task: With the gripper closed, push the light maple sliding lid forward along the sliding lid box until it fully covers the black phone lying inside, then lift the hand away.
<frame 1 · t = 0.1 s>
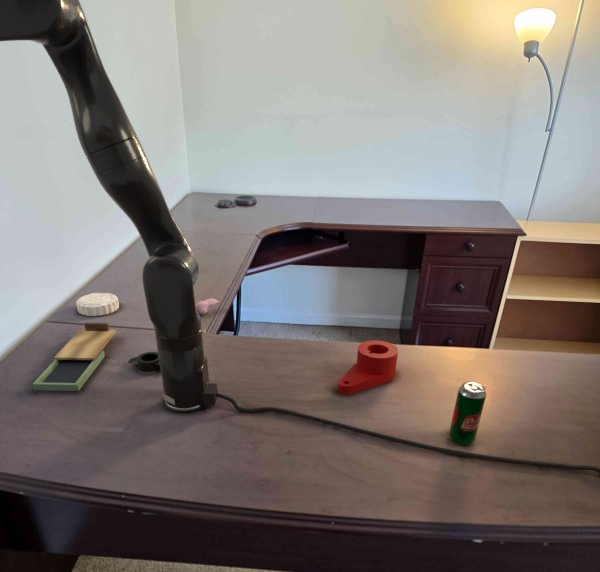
black wing nut: (151, 368, 122), on the table
mooncake: (99, 309, 153), on the table
lever: (364, 380, 118), on the table
sliding lid box: (72, 373, 119), on the table
slide lid: (86, 340, 126), point 4 cm above the table, slide at -11.0 cm
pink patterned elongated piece: (198, 316, 150), on the table
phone: (71, 371, 118), resting on sliding lid box
soda can: (461, 439, 99), on the table
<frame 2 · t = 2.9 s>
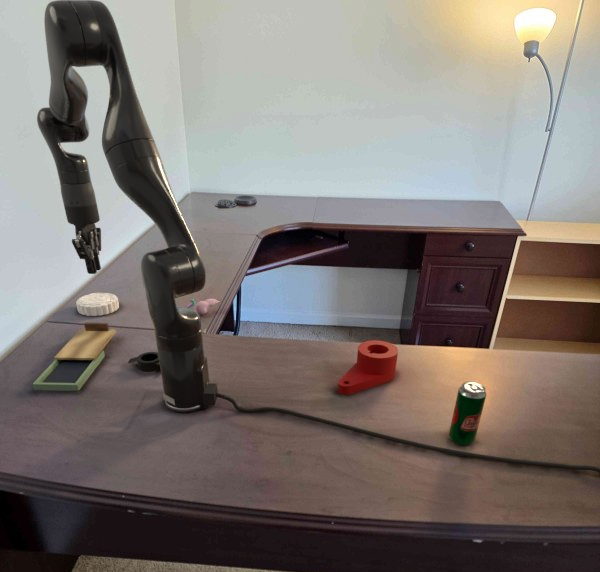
hand: (94, 271, 130), 17 cm above the table, tool pointing down, fingers closed
nothing on the table moved.
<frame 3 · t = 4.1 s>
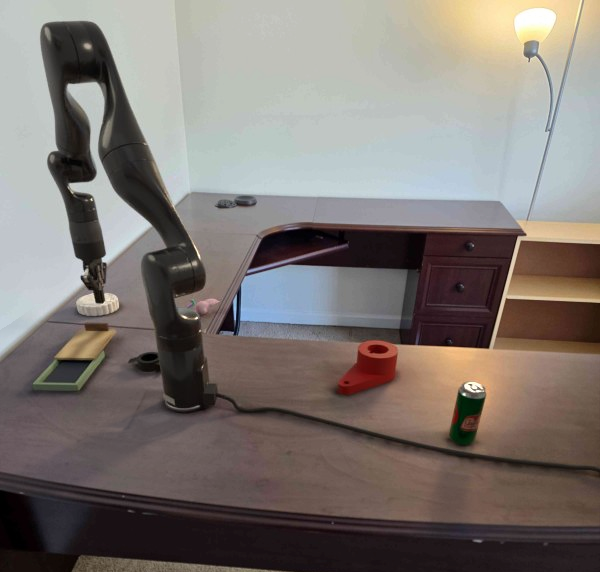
hand: (100, 302, 135), 8 cm above the table, tool pointing down, fingers closed
nothing on the table moved.
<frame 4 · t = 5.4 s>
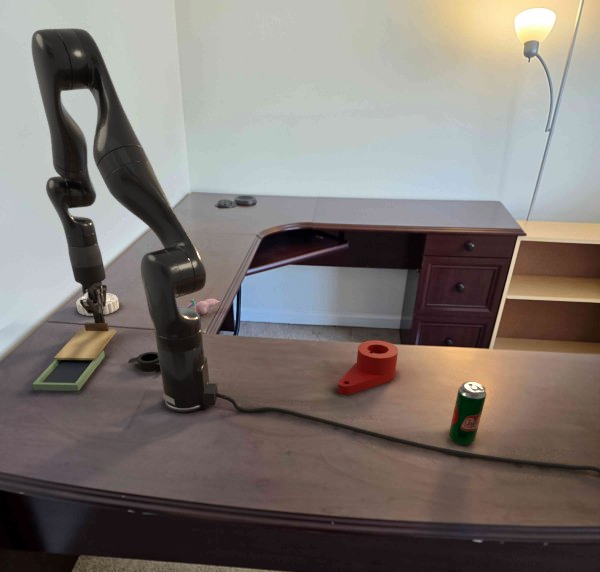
hand: (100, 325, 134), 3 cm above the table, tool pointing down, fingers closed
slide lid: (86, 340, 126), point 4 cm above the table, slide at -11.0 cm, touching gripper
everything else where it was.
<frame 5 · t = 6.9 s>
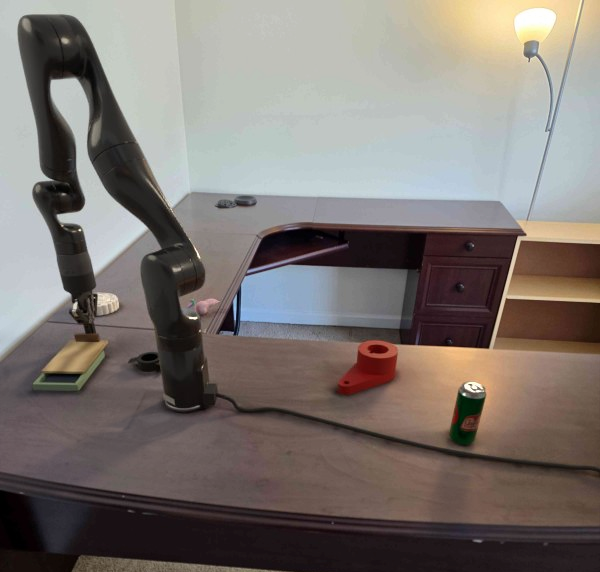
hand: (91, 335, 129), 4 cm above the table, tool pointing down, fingers closed
slide lid: (75, 352, 120), point 4 cm above the table, slide at -4.2 cm, touching gripper
everything else where it was.
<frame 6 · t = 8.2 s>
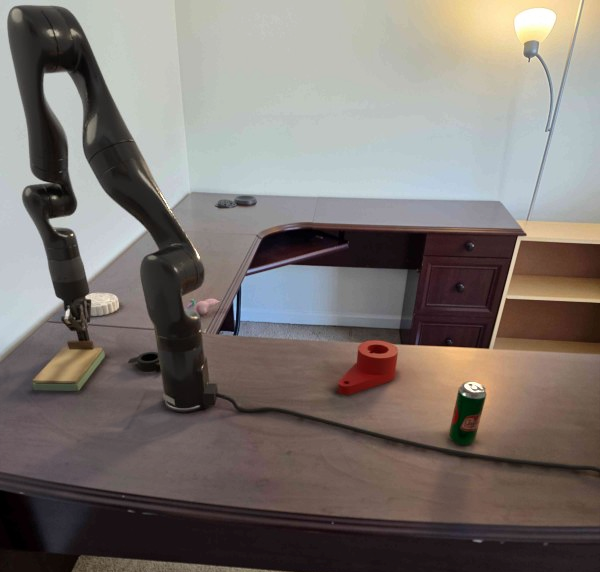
hand: (84, 342, 125), 4 cm above the table, tool pointing down, fingers closed
slide lid: (68, 360, 117), point 4 cm above the table, slide at 0.1 cm, touching gripper
everything else where it was.
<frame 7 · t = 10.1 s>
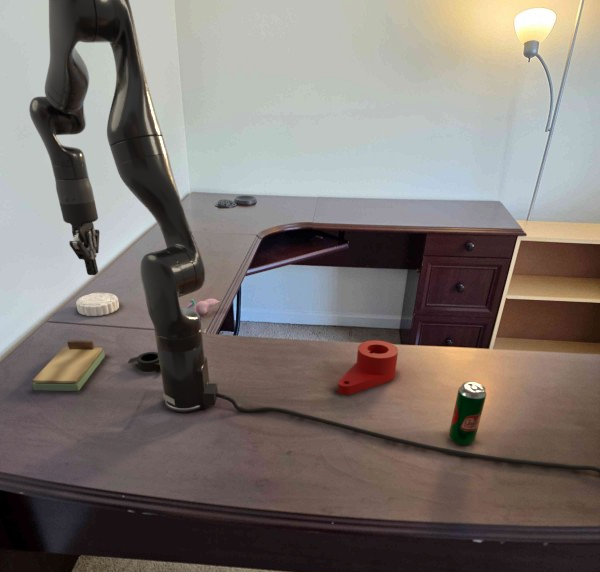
hand: (93, 274, 122), 19 cm above the table, tool pointing down, fingers closed
slide lid: (68, 360, 117), point 4 cm above the table, slide at 0.0 cm
everything else where it was.
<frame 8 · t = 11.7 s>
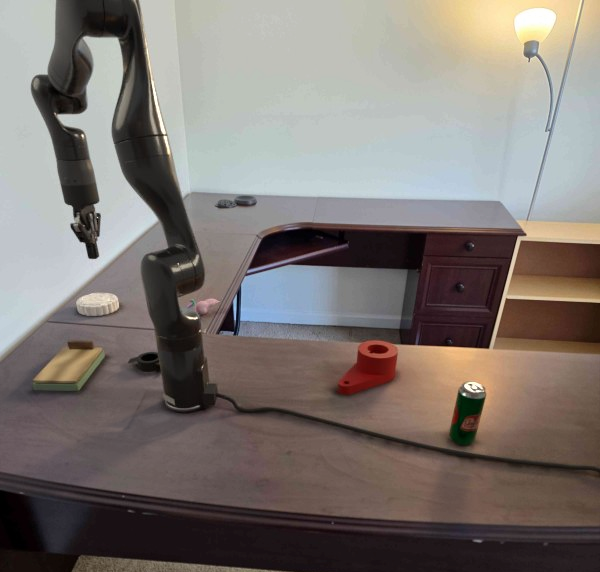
hand: (94, 258, 120), 23 cm above the table, tool pointing down, fingers closed
nothing on the table moved.
at the end: slide lid slide at 0.0 cm; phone 0.0 cm off-centre on the sliding lid box, point 0.5 cm above the sliding lid box's base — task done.
